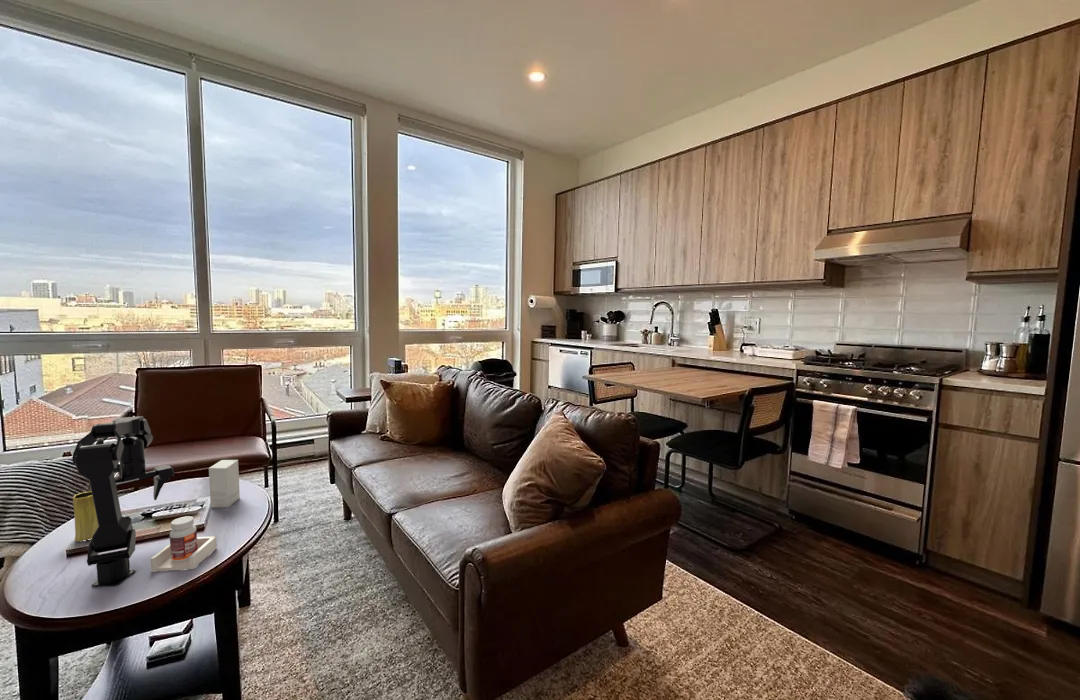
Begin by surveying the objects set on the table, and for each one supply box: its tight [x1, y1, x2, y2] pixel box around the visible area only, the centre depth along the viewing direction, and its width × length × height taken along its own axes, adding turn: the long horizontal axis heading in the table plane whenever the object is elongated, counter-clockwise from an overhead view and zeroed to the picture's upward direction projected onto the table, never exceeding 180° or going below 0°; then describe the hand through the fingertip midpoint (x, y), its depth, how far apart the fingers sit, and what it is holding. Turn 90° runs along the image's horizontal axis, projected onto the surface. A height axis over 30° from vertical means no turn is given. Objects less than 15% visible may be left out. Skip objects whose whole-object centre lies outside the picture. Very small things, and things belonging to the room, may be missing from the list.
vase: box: [72, 490, 98, 542], centre depth 140 cm, size 6×6×14 cm
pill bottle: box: [169, 515, 198, 562], centre depth 129 cm, size 6×6×11 cm
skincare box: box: [208, 459, 241, 509], centre depth 166 cm, size 8×7×16 cm
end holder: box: [149, 535, 218, 573], centre depth 130 cm, size 11×11×4 cm
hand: (136, 504), depth 138 cm, fingers open, 9 cm apart
